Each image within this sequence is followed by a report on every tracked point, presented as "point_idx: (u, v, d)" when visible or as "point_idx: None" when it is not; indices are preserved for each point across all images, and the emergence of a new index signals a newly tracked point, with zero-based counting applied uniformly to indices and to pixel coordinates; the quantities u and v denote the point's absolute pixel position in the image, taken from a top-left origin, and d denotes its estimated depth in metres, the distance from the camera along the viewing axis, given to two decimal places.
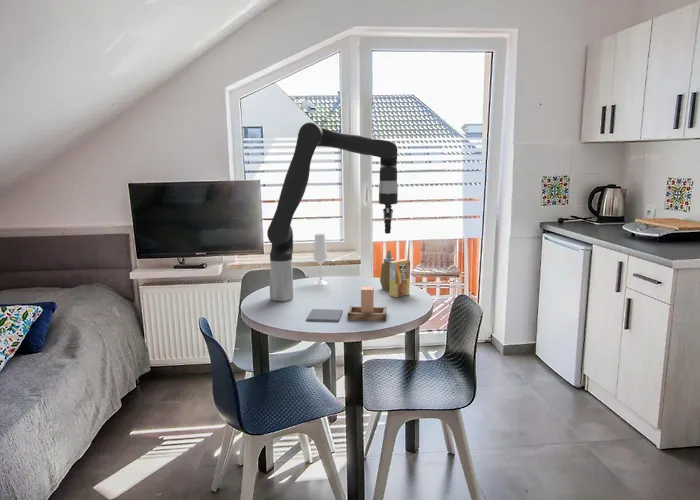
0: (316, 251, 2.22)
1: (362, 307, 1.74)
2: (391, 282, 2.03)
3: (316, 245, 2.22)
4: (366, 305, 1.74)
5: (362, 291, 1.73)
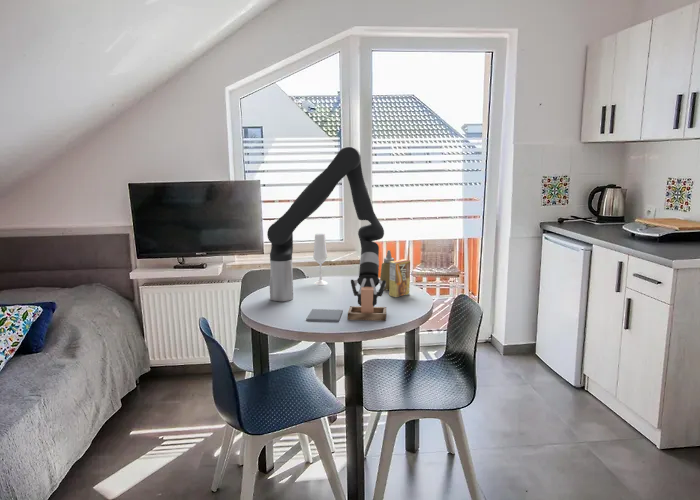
0: (316, 251, 2.22)
1: (362, 307, 1.74)
2: (391, 282, 2.03)
3: (316, 245, 2.22)
4: (366, 305, 1.74)
5: (362, 291, 1.73)
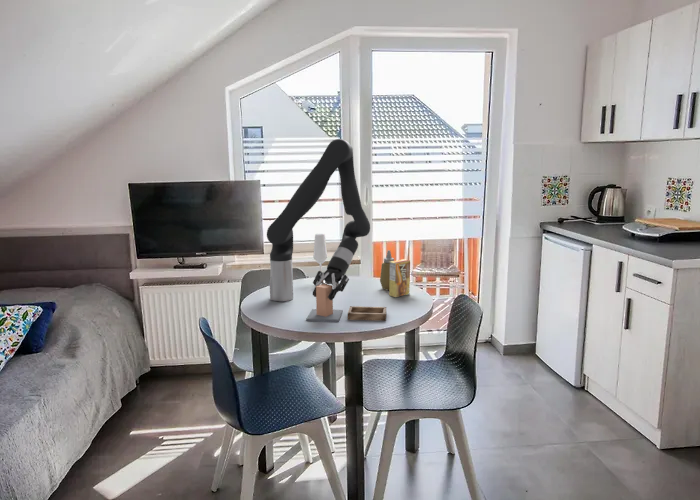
0: (316, 251, 2.22)
1: (317, 304, 1.76)
2: (391, 282, 2.03)
3: (316, 245, 2.22)
4: (320, 302, 1.75)
5: (317, 288, 1.75)
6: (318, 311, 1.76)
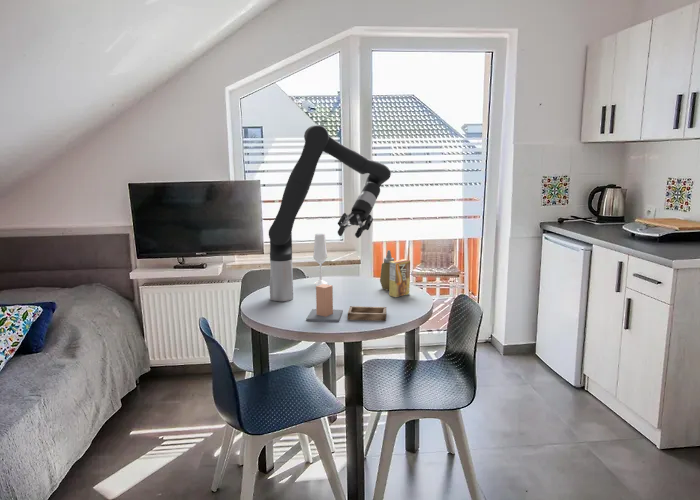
0: (316, 251, 2.22)
1: (317, 304, 1.76)
2: (391, 282, 2.03)
3: (316, 245, 2.22)
4: (320, 302, 1.75)
5: (317, 288, 1.75)
6: (318, 311, 1.76)
